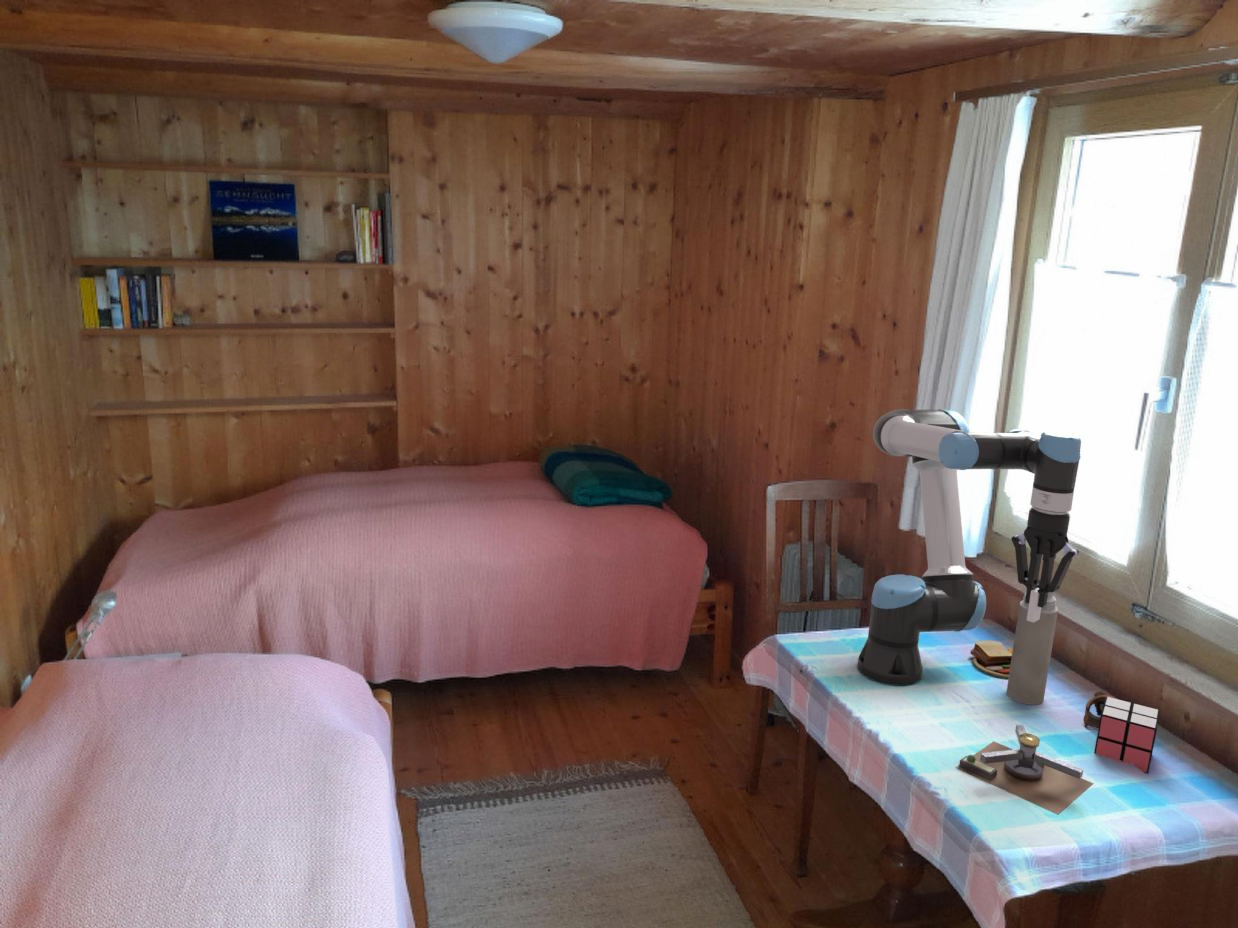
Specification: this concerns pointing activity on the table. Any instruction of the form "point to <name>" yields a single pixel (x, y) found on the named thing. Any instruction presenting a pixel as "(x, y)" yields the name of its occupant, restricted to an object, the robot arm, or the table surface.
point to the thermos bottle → (1032, 653)
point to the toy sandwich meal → (992, 658)
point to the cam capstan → (1028, 759)
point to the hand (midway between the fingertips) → (1033, 619)
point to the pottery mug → (1099, 702)
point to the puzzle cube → (1127, 732)
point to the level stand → (1047, 792)
